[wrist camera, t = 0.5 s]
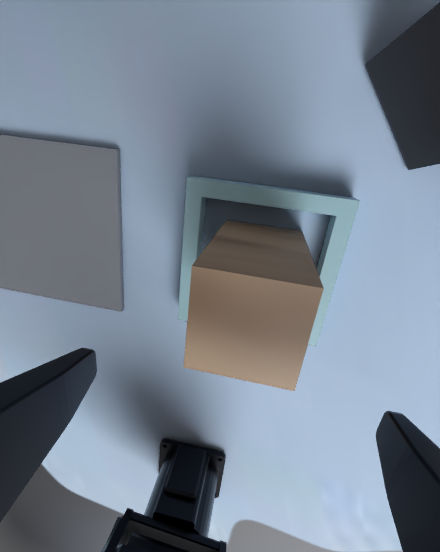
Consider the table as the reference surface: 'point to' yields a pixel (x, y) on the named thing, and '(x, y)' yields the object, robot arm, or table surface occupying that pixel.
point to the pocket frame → (271, 196)
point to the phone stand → (412, 89)
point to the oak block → (252, 304)
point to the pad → (61, 221)
